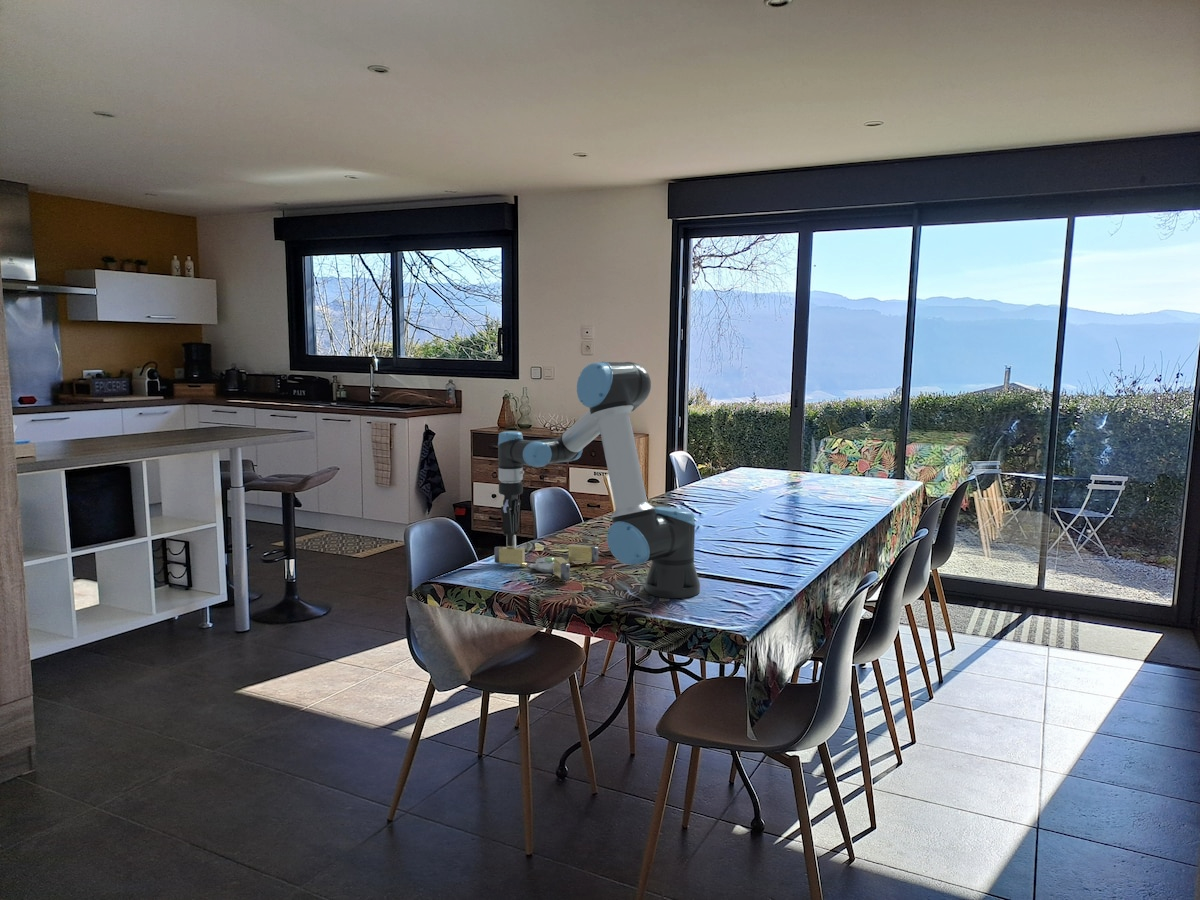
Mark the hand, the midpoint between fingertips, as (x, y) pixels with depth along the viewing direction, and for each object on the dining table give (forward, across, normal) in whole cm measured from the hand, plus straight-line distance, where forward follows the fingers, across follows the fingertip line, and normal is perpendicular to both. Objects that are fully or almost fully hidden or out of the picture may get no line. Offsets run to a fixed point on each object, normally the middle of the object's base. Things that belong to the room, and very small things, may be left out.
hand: (511, 555), depth 250 cm
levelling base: (+2, -5, -14) cm, 15 cm away
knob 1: (+2, -16, -20) cm, 26 cm away
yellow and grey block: (+2, -5, -1) cm, 6 cm away
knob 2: (+2, +2, -22) cm, 23 cm away
